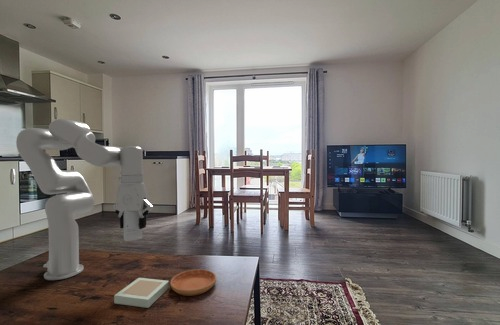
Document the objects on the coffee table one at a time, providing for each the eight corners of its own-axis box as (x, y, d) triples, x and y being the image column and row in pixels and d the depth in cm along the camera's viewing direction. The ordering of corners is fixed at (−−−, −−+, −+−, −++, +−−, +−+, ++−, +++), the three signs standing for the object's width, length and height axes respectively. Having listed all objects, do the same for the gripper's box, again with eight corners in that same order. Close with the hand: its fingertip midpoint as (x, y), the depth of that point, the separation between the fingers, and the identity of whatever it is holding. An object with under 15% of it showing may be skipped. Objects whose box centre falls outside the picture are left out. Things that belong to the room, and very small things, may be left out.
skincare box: (125, 242, 88) (124, 208, 88) (123, 239, 91) (122, 206, 91) (143, 238, 91) (142, 206, 91) (141, 235, 95) (140, 204, 95)
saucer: (161, 289, 87) (160, 280, 87) (196, 272, 99) (196, 265, 99) (190, 305, 77) (190, 295, 77) (225, 284, 90) (225, 276, 90)
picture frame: (114, 303, 77) (114, 295, 77) (138, 284, 89) (138, 277, 89) (148, 307, 75) (148, 299, 75) (169, 287, 87) (169, 280, 87)
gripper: (103, 180, 89) (104, 229, 89) (147, 180, 86) (148, 231, 86) (118, 179, 97) (119, 224, 97) (159, 178, 93) (160, 225, 93)
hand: (133, 227), depth 91 cm, fingers closed on skincare box, 7 cm apart
